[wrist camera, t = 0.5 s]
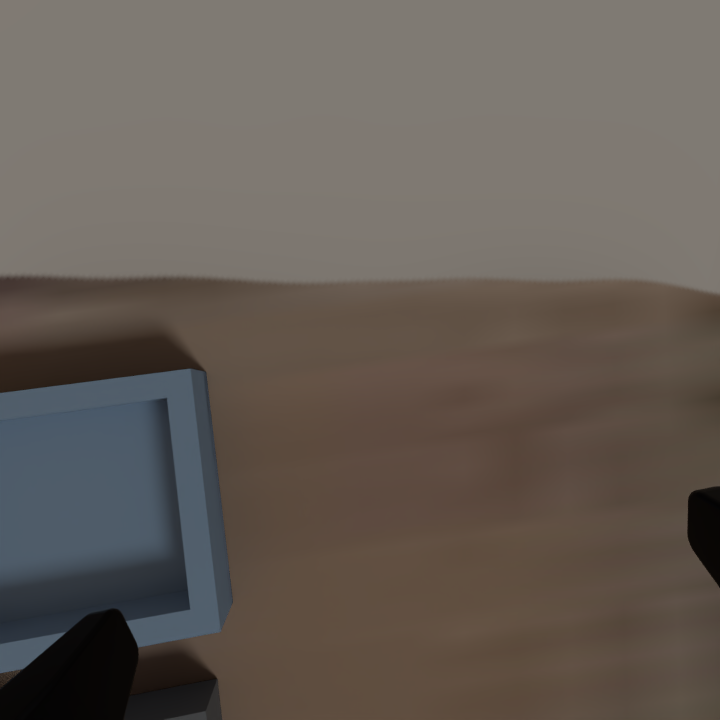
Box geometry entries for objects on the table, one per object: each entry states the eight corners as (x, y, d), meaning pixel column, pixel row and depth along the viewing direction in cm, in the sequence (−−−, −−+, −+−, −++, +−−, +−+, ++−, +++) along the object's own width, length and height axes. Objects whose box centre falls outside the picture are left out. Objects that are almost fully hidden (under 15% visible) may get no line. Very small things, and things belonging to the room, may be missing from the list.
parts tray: (232, 601, 20) (220, 631, 17) (-69, 656, 18) (-130, 697, 16) (205, 371, 20) (190, 368, 18) (-88, 410, 19) (-149, 412, 17)
